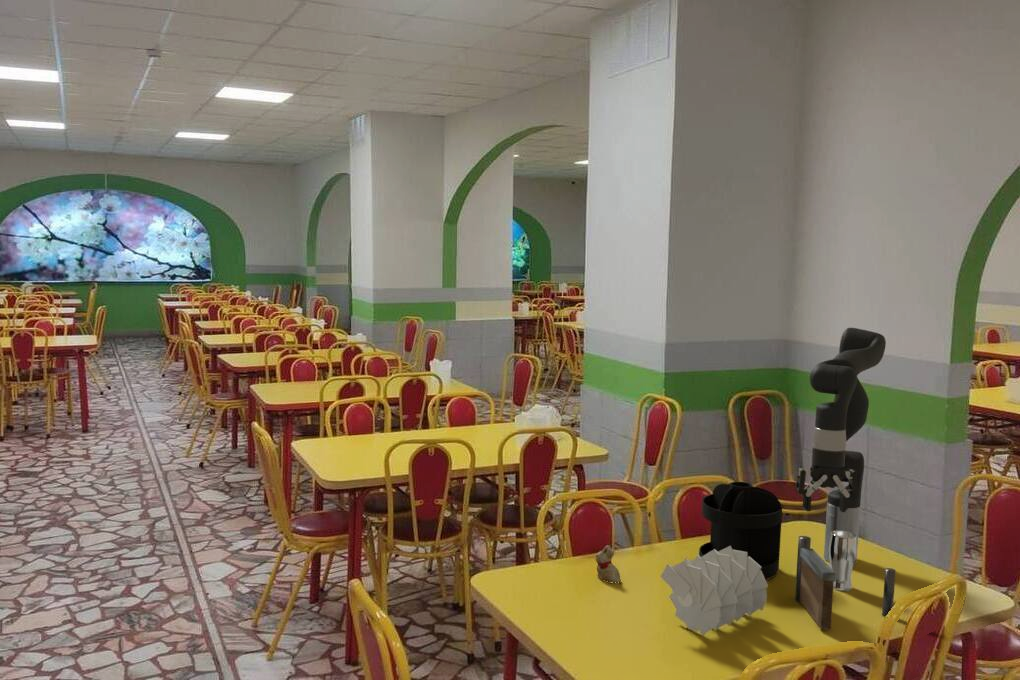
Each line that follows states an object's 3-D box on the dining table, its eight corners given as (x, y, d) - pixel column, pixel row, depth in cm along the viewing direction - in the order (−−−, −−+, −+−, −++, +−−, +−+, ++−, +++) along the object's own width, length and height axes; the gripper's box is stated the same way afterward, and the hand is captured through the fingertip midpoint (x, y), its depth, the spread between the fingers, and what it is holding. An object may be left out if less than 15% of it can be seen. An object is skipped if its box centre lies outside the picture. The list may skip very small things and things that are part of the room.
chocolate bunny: (611, 573, 240) (613, 538, 239) (622, 583, 233) (624, 548, 232) (593, 574, 239) (594, 540, 238) (604, 585, 231) (605, 549, 230)
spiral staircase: (756, 631, 214) (695, 654, 198) (706, 582, 226) (645, 600, 210) (790, 576, 207) (730, 596, 191) (737, 528, 219) (676, 543, 202)
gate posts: (795, 597, 226) (799, 535, 225) (892, 614, 217) (896, 549, 215) (794, 601, 223) (798, 538, 222) (892, 618, 214) (897, 553, 213)
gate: (809, 600, 222) (812, 548, 221) (831, 629, 205) (835, 572, 204) (797, 600, 222) (800, 548, 221) (819, 628, 205) (822, 572, 204)
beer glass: (855, 593, 230) (859, 539, 229) (828, 590, 232) (832, 536, 230) (851, 583, 237) (854, 531, 236) (824, 581, 238) (828, 528, 237)
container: (744, 551, 261) (748, 471, 258) (793, 578, 240) (799, 492, 237) (682, 559, 253) (686, 476, 251) (727, 587, 232) (732, 498, 229)
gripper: (852, 443, 211) (848, 507, 213) (794, 442, 212) (791, 505, 213) (864, 450, 204) (860, 516, 206) (804, 449, 204) (800, 514, 206)
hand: (824, 510), depth 210 cm, fingers open, 8 cm apart
